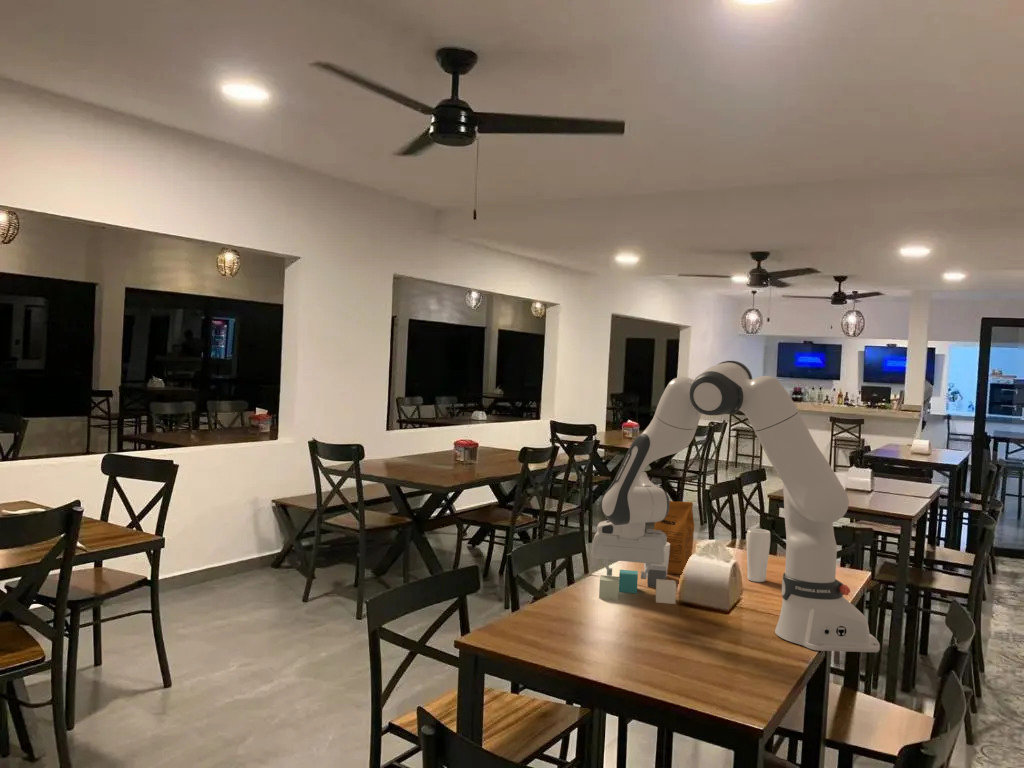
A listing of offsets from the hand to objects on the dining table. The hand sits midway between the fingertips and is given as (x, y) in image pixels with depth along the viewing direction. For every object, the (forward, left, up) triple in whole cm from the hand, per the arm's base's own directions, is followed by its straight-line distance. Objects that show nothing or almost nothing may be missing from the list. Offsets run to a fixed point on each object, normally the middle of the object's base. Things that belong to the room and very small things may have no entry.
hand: (626, 576), depth 212 cm
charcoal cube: (-9, -8, -4) cm, 13 cm away
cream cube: (-11, +7, -4) cm, 13 cm away
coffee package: (-14, -27, -4) cm, 31 cm away
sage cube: (+4, +8, -4) cm, 10 cm away
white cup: (-9, -18, -4) cm, 21 cm away
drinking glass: (-39, -23, -4) cm, 45 cm away
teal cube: (-1, 0, -4) cm, 4 cm away
